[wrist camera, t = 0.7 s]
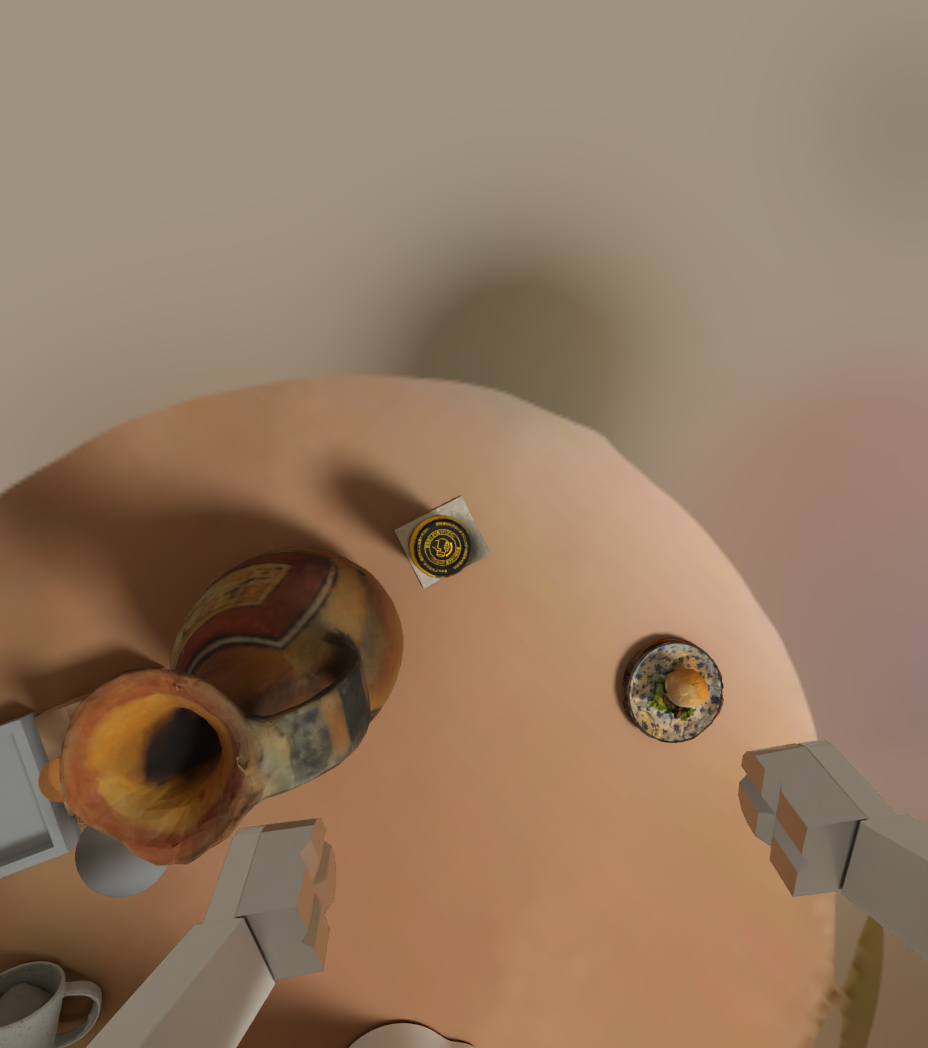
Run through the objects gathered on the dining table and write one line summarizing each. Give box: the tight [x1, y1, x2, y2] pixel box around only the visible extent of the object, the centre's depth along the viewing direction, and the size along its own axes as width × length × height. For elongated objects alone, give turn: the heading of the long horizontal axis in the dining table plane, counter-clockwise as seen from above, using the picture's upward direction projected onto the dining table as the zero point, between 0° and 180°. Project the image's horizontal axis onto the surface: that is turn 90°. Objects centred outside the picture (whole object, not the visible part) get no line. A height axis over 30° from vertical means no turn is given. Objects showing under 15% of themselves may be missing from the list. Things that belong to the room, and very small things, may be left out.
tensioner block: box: [33, 667, 168, 897], centre depth 51 cm, size 18×10×8 cm, turn 19°
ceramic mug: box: [0, 961, 102, 1048], centre depth 50 cm, size 10×8×7 cm
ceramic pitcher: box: [59, 548, 404, 866], centre depth 43 cm, size 20×20×30 cm
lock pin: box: [38, 756, 65, 802], centre depth 49 cm, size 4×4×12 cm
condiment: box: [394, 496, 491, 588], centre depth 53 cm, size 7×8×12 cm
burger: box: [622, 638, 724, 743], centre depth 59 cm, size 12×12×8 cm
